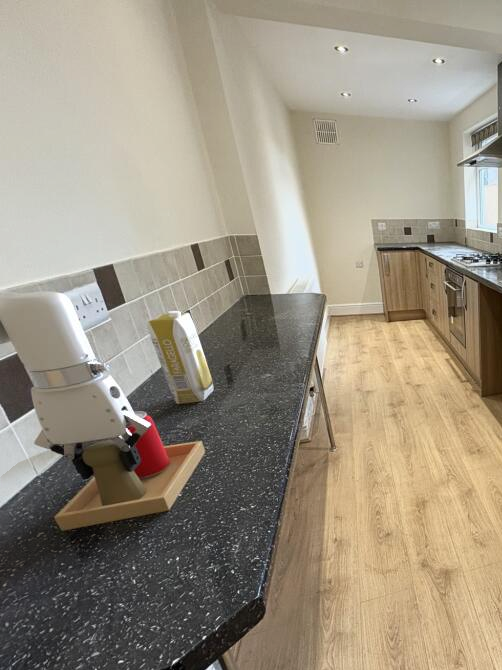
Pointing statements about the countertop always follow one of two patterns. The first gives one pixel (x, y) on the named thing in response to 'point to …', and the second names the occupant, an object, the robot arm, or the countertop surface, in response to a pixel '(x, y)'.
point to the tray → (157, 498)
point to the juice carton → (181, 356)
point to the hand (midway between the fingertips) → (112, 470)
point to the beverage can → (149, 450)
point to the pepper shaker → (112, 474)
